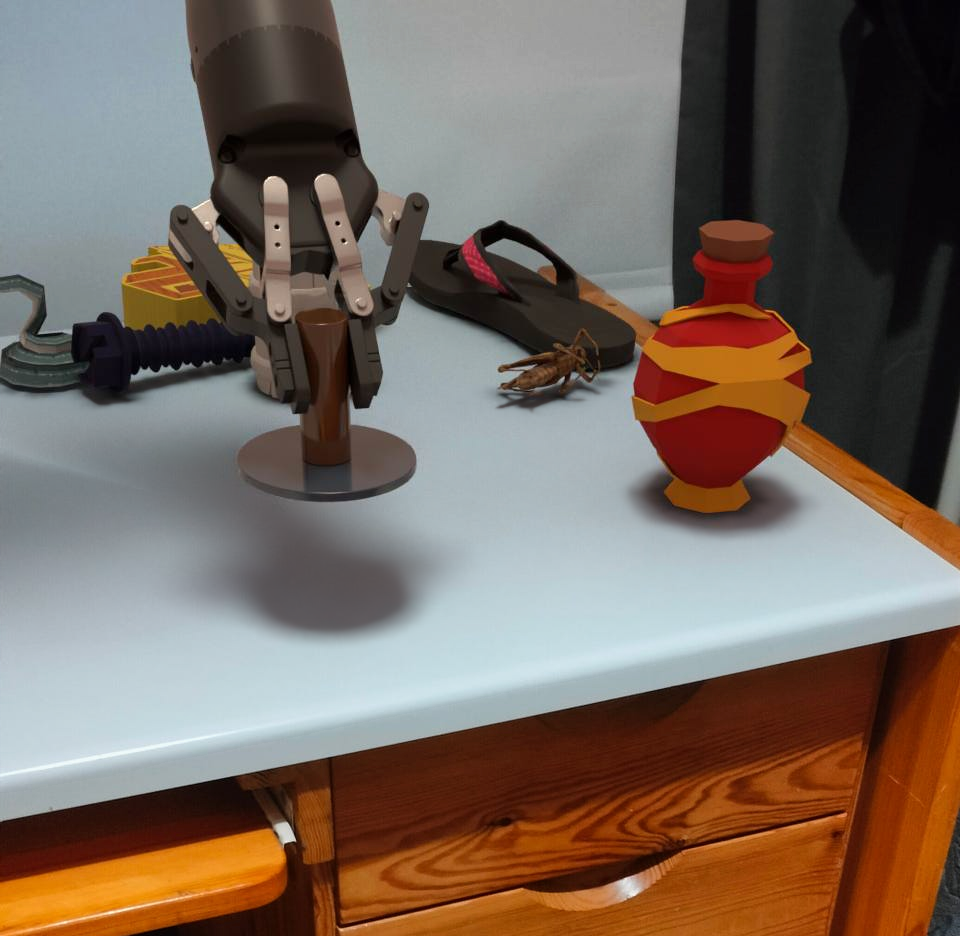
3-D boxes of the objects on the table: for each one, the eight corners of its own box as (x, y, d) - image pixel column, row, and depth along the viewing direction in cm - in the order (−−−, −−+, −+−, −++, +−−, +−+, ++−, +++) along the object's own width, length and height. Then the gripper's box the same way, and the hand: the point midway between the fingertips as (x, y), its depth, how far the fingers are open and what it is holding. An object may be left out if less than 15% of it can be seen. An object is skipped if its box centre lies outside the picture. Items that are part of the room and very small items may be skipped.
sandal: (479, 263, 134) (480, 187, 130) (671, 355, 119) (678, 272, 115) (380, 283, 130) (378, 205, 126) (566, 380, 115) (570, 295, 111)
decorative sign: (196, 269, 132) (43, 297, 123) (195, 230, 130) (38, 255, 121) (374, 327, 122) (220, 361, 113) (374, 285, 120) (219, 317, 111)
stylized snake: (-85, 376, 113) (-105, 275, 109) (184, 333, 121) (175, 238, 117) (-53, 410, 109) (-72, 306, 104) (224, 363, 117) (216, 265, 112)
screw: (106, 375, 107) (80, 300, 107) (85, 408, 112) (60, 337, 111) (338, 348, 116) (315, 280, 116) (310, 381, 120) (288, 315, 120)
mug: (240, 400, 111) (224, 206, 103) (281, 342, 120) (269, 159, 112) (350, 408, 110) (343, 213, 102) (383, 349, 119) (379, 165, 111)
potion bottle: (617, 524, 97) (637, 252, 87) (630, 457, 105) (650, 200, 95) (794, 537, 96) (836, 264, 86) (794, 468, 104) (832, 210, 94)
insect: (536, 426, 109) (484, 420, 112) (620, 384, 113) (568, 379, 117) (525, 356, 107) (472, 353, 110) (611, 316, 111) (558, 313, 114)
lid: (203, 482, 84) (189, 329, 79) (289, 420, 90) (281, 275, 85) (368, 516, 81) (365, 360, 76) (445, 450, 88) (446, 302, 83)
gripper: (130, 22, 77) (199, 380, 76) (417, 14, 80) (484, 356, 80) (128, 123, 84) (191, 450, 84) (391, 112, 87) (452, 426, 87)
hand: (333, 402), depth 82 cm, fingers closed on lid, 2 cm apart
